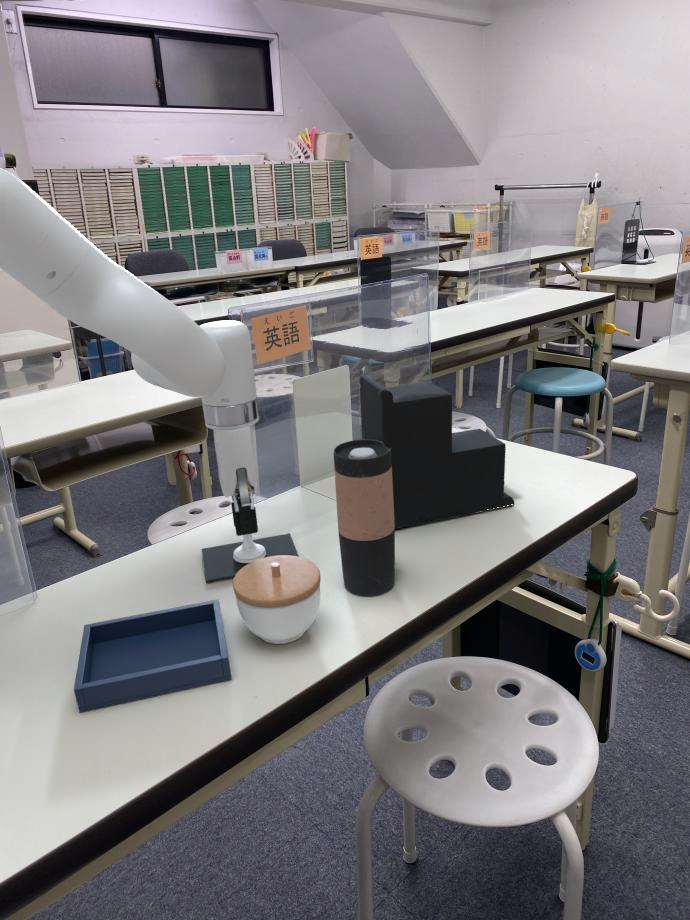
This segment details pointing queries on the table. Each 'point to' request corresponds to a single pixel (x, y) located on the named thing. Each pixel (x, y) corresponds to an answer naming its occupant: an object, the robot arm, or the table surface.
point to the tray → (151, 655)
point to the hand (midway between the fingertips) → (246, 528)
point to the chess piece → (249, 550)
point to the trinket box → (278, 597)
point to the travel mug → (365, 516)
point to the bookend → (432, 453)
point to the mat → (225, 567)
